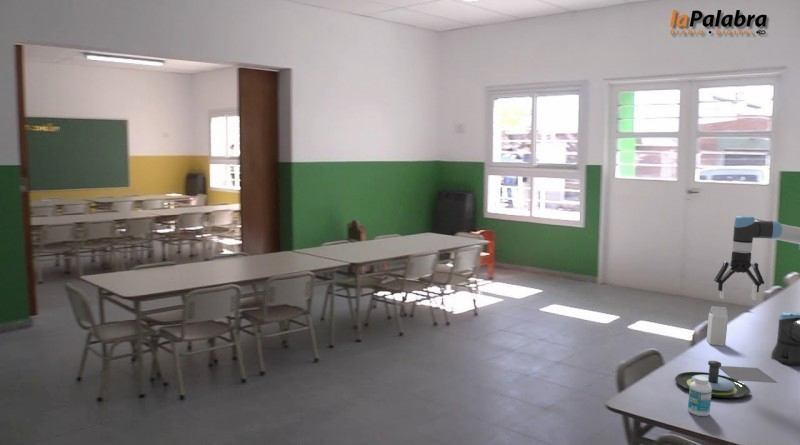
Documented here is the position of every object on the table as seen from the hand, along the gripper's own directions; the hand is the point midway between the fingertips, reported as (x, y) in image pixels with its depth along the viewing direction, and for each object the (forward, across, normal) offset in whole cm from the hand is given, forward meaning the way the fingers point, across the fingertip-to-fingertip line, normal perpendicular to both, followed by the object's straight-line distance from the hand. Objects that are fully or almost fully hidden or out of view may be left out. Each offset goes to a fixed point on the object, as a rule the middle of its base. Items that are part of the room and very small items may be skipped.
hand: (737, 298), depth 282 cm
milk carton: (+33, -9, -40) cm, 53 cm away
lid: (+31, +17, +24) cm, 42 cm away
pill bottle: (+33, +33, +51) cm, 69 cm away
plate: (+33, +18, +24) cm, 45 cm away
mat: (+32, -4, +6) cm, 33 cm away
